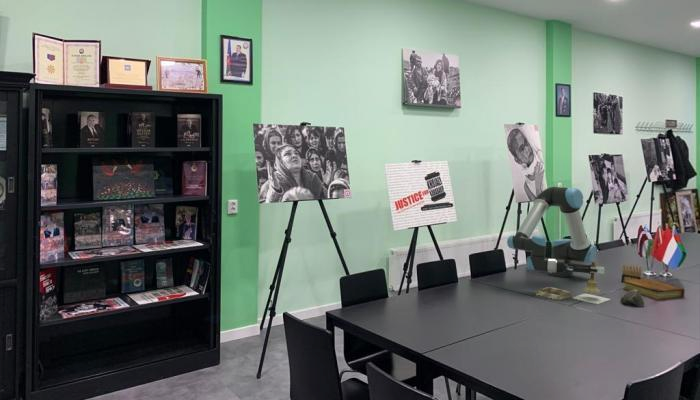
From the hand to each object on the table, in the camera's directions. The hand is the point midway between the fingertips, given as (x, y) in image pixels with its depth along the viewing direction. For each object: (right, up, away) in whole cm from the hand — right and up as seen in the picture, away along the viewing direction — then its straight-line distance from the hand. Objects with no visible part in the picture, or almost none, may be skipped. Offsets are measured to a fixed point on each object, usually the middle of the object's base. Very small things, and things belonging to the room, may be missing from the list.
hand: (604, 270), depth 267 cm
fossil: (+12, -17, -4) cm, 21 cm away
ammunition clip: (+36, -14, +38) cm, 54 cm away
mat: (-5, -16, +4) cm, 17 cm away
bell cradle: (-23, -15, +10) cm, 29 cm away
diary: (+36, -16, +17) cm, 43 cm away
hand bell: (-5, -12, +3) cm, 13 cm away
